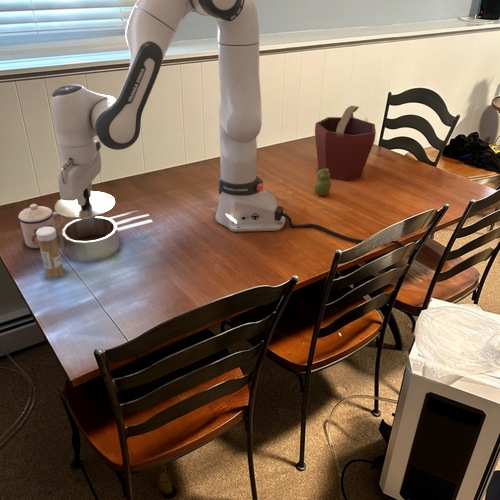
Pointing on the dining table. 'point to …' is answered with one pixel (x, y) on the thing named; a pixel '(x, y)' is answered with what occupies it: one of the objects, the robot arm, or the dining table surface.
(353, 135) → the bucket
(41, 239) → the sprinkles bottle
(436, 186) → the dining table surface
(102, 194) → the pan lid
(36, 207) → the teacup with lid
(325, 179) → the green figurine
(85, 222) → the pan
